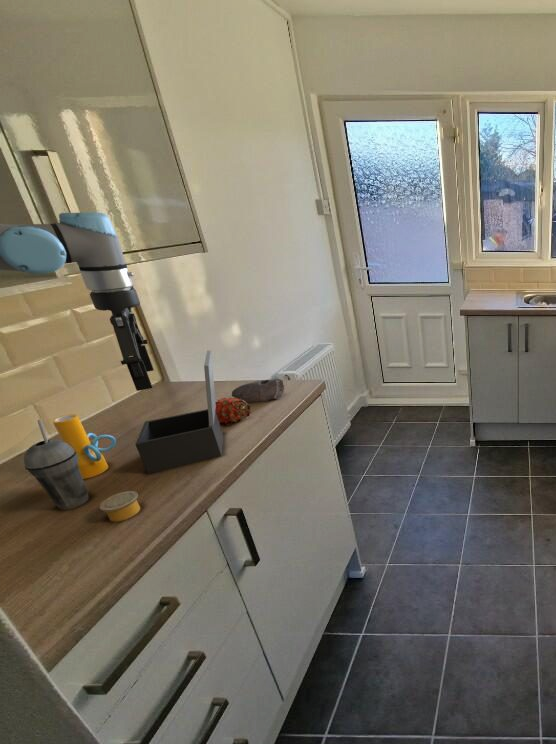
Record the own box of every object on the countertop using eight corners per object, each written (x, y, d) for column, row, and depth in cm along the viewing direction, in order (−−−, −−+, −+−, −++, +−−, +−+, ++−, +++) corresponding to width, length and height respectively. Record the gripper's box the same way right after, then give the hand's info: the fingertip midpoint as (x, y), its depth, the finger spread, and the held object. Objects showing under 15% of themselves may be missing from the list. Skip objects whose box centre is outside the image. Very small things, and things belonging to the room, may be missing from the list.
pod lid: (204, 365, 96) (208, 365, 96) (207, 350, 106) (211, 350, 106) (209, 426, 101) (213, 425, 101) (211, 406, 110) (215, 406, 111)
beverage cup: (41, 514, 86) (-8, 430, 78) (80, 492, 92) (39, 412, 84) (69, 518, 84) (22, 433, 76) (107, 495, 91) (68, 415, 83)
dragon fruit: (258, 424, 123) (213, 436, 120) (256, 400, 127) (212, 411, 124) (245, 412, 116) (197, 425, 113) (242, 387, 120) (196, 398, 117)
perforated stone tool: (231, 408, 130) (225, 387, 127) (236, 401, 135) (230, 381, 132) (284, 401, 134) (279, 382, 131) (287, 395, 139) (282, 376, 136)
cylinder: (80, 463, 102) (53, 409, 96) (131, 456, 105) (108, 403, 99) (47, 493, 92) (14, 435, 86) (104, 484, 95) (76, 427, 88)
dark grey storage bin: (148, 476, 98) (135, 444, 94) (156, 451, 107) (144, 421, 104) (222, 458, 104) (212, 427, 101) (223, 436, 114) (214, 407, 111)
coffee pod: (104, 529, 82) (96, 513, 80) (111, 512, 86) (103, 497, 84) (141, 519, 84) (134, 503, 83) (146, 502, 89) (139, 487, 87)
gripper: (131, 296, 83) (165, 393, 91) (137, 280, 101) (165, 361, 109) (79, 301, 78) (120, 402, 87) (95, 283, 96) (128, 367, 105)
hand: (145, 379), depth 98 cm, fingers open, 13 cm apart
